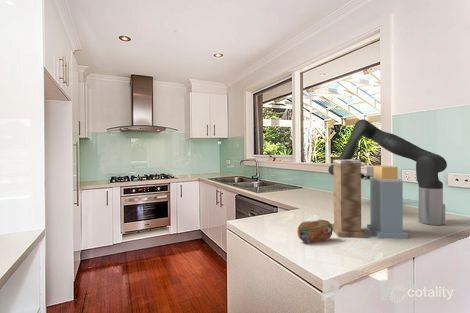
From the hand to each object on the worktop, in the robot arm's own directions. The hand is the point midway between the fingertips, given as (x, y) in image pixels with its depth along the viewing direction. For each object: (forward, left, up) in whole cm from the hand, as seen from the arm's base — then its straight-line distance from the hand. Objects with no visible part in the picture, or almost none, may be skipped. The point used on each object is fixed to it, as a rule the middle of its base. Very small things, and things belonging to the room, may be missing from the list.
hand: (367, 177), depth 124 cm
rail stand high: (+17, +21, -22) cm, 35 cm away
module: (+1, +16, +2) cm, 16 cm away
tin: (+33, +32, -22) cm, 51 cm away
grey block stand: (+1, +21, -22) cm, 30 cm away
